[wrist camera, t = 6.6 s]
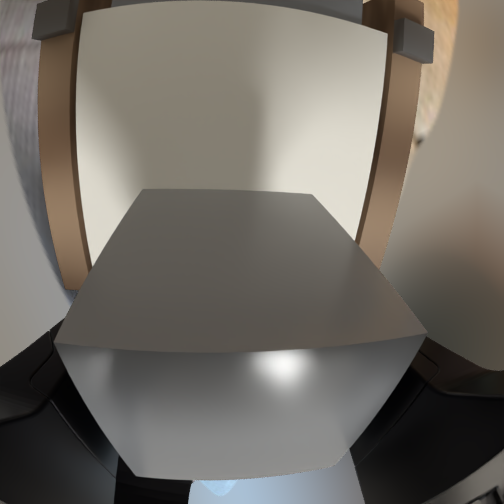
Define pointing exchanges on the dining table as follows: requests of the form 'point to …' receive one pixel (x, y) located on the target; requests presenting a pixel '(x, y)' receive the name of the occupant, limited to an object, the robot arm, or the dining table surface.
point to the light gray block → (234, 336)
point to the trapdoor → (226, 103)
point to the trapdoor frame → (65, 144)
